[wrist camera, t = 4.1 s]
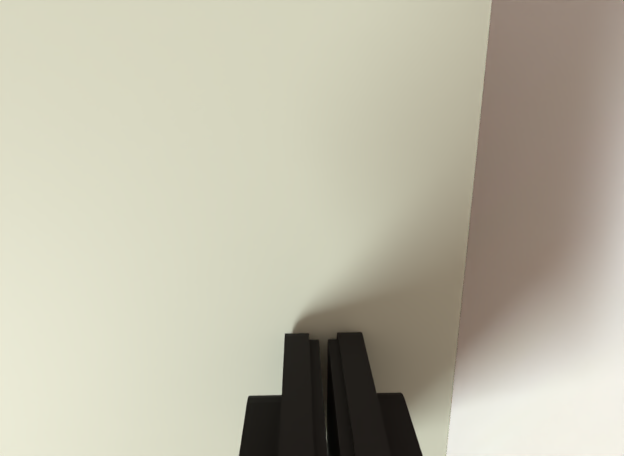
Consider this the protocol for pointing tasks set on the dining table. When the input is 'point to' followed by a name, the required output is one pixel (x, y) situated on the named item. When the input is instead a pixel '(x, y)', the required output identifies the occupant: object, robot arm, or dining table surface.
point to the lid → (227, 210)
